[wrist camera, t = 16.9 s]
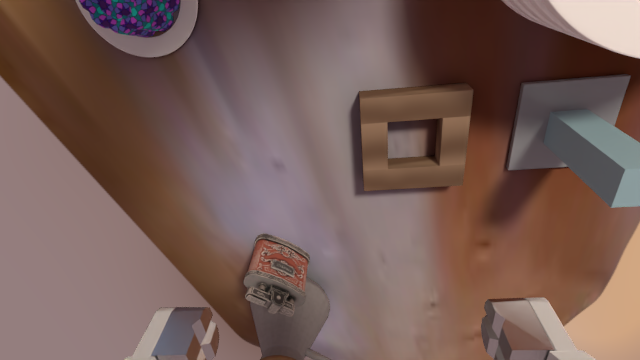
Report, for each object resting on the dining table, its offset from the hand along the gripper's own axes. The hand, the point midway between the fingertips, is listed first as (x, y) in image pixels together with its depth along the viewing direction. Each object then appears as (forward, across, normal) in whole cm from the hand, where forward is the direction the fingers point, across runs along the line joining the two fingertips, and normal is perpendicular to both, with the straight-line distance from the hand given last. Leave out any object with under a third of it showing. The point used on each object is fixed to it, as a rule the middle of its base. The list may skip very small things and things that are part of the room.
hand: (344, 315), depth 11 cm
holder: (+31, -7, +9) cm, 33 cm away
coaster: (+31, -23, +9) cm, 40 cm away
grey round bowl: (+32, +19, -8) cm, 38 cm away
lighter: (+31, +10, +25) cm, 41 cm away
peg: (+30, -23, +9) cm, 39 cm away
